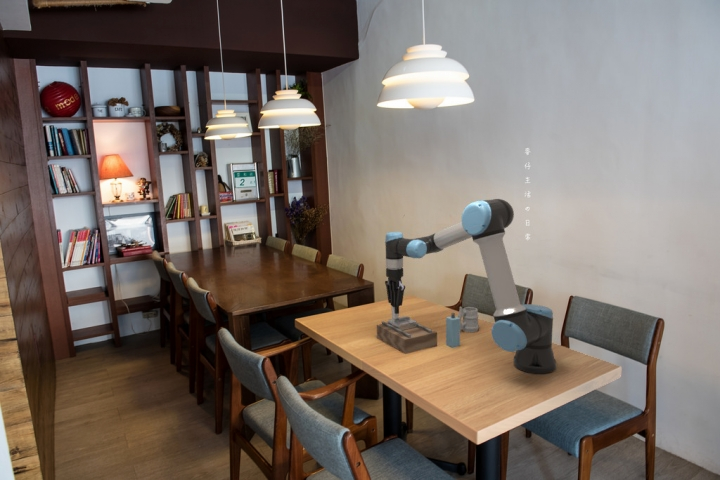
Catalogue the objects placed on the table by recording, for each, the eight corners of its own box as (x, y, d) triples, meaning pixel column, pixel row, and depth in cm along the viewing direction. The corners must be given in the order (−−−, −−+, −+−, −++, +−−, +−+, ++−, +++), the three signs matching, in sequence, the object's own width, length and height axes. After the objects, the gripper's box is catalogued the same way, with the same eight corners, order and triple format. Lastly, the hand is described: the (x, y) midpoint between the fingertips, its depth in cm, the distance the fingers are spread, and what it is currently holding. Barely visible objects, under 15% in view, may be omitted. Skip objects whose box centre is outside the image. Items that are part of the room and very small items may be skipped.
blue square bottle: (459, 346, 218) (459, 313, 216) (452, 347, 216) (452, 315, 214) (453, 343, 222) (453, 311, 220) (446, 345, 220) (446, 312, 218)
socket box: (436, 346, 219) (436, 329, 218) (405, 353, 211) (405, 336, 210) (407, 331, 238) (407, 316, 237) (377, 338, 230) (376, 322, 229)
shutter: (416, 326, 224) (416, 319, 224) (399, 330, 220) (399, 322, 219) (405, 321, 232) (404, 313, 232) (387, 324, 228) (387, 317, 227)
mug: (482, 330, 237) (482, 304, 235) (463, 335, 230) (463, 309, 228) (470, 326, 243) (470, 301, 241) (451, 331, 237) (451, 305, 235)
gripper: (410, 269, 223) (410, 322, 227) (393, 264, 234) (394, 315, 238) (395, 271, 219) (396, 325, 223) (379, 266, 231) (380, 317, 234)
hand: (395, 320), depth 231 cm, fingers closed
